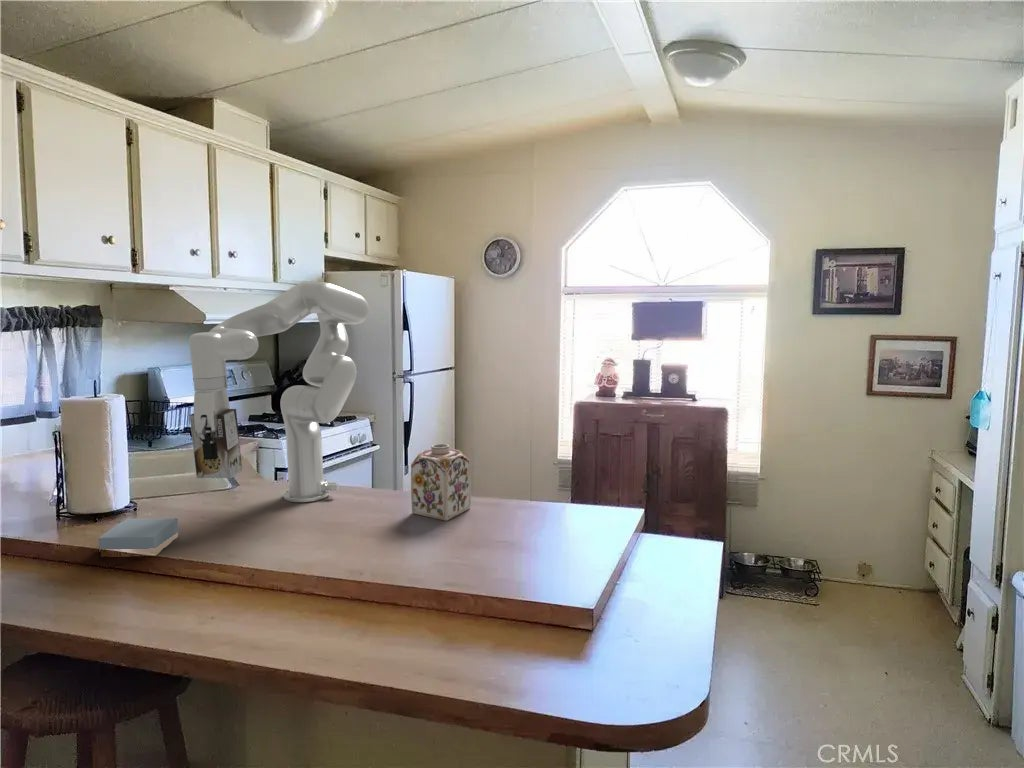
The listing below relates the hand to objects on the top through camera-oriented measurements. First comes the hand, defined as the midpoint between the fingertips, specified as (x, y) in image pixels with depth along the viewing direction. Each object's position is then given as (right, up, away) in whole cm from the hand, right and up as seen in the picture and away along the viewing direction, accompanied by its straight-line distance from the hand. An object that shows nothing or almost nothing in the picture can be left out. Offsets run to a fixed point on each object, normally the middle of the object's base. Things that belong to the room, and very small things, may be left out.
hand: (217, 454), depth 170 cm
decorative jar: (+54, -17, +13) cm, 58 cm away
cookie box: (0, -5, +1) cm, 5 cm away
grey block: (-13, -21, -11) cm, 27 cm away
